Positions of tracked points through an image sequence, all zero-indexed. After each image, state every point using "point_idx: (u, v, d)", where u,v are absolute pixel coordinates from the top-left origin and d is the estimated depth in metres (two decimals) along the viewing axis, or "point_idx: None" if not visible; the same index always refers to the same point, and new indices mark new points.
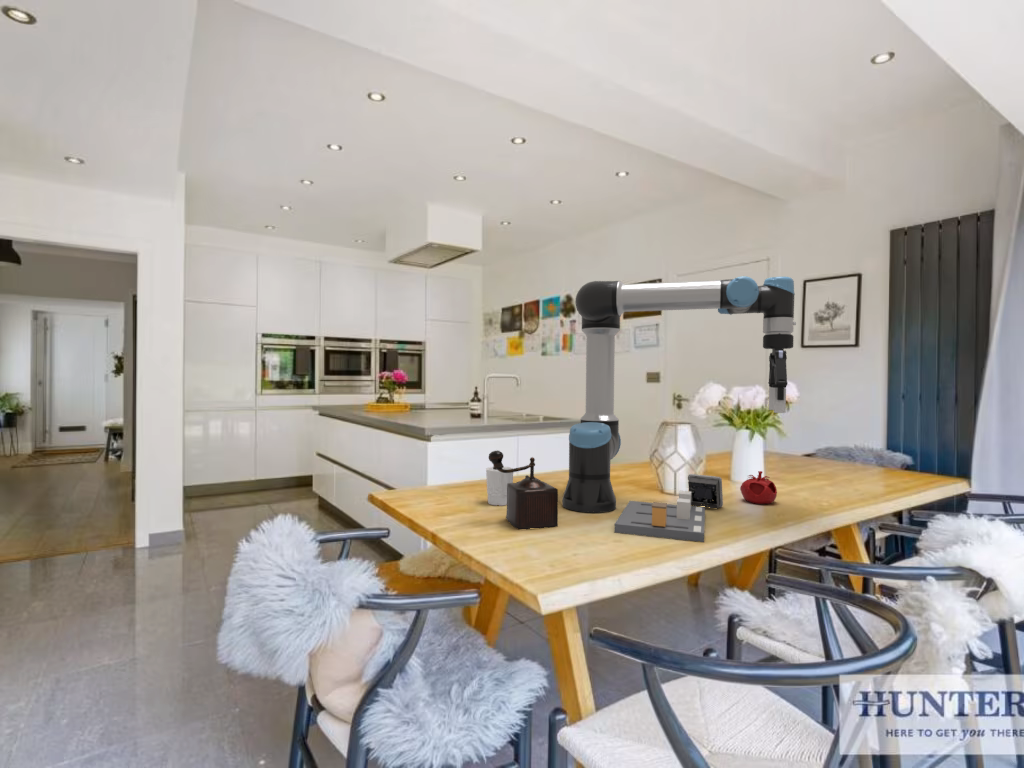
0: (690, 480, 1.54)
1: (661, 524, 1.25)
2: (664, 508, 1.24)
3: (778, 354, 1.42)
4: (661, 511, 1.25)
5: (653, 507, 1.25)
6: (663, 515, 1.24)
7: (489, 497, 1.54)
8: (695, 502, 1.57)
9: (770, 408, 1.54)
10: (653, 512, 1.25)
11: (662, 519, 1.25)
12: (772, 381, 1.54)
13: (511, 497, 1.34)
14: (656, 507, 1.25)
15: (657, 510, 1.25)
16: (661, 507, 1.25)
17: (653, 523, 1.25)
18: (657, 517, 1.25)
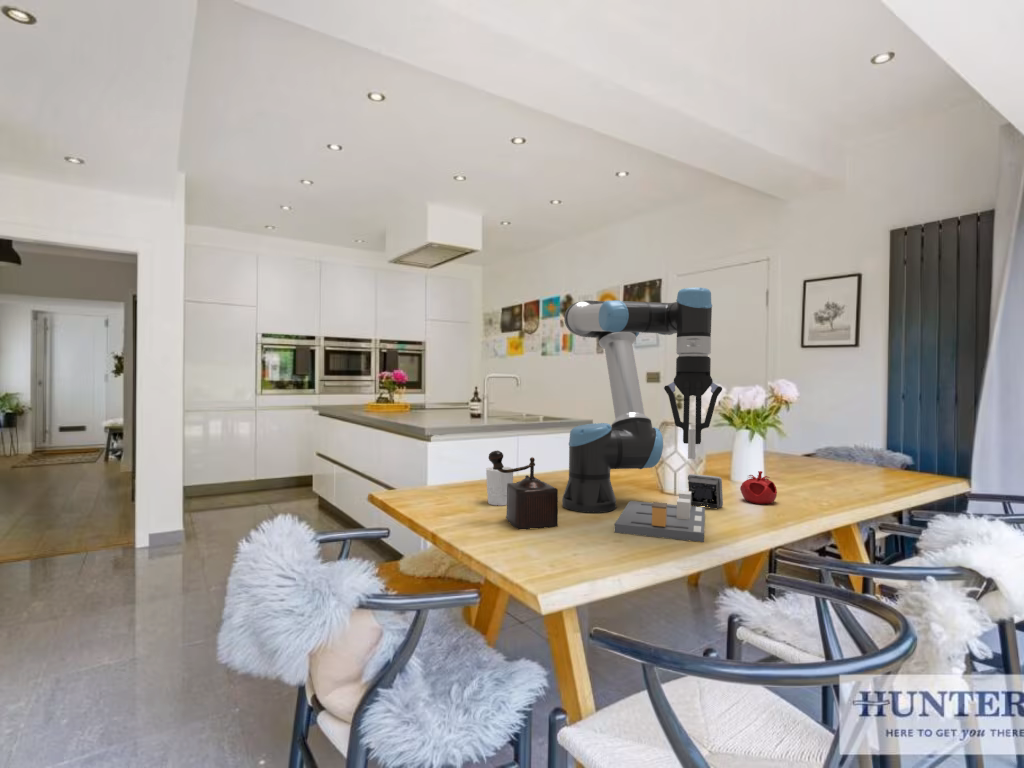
0: (690, 480, 1.54)
1: (661, 524, 1.25)
2: (664, 508, 1.24)
3: None
4: (661, 511, 1.25)
5: (653, 507, 1.25)
6: (663, 515, 1.24)
7: (489, 497, 1.54)
8: (695, 502, 1.57)
9: None
10: (653, 512, 1.25)
11: (662, 519, 1.25)
12: None
13: (511, 497, 1.34)
14: (656, 507, 1.25)
15: (657, 510, 1.25)
16: (661, 507, 1.25)
17: (653, 523, 1.25)
18: (657, 517, 1.25)
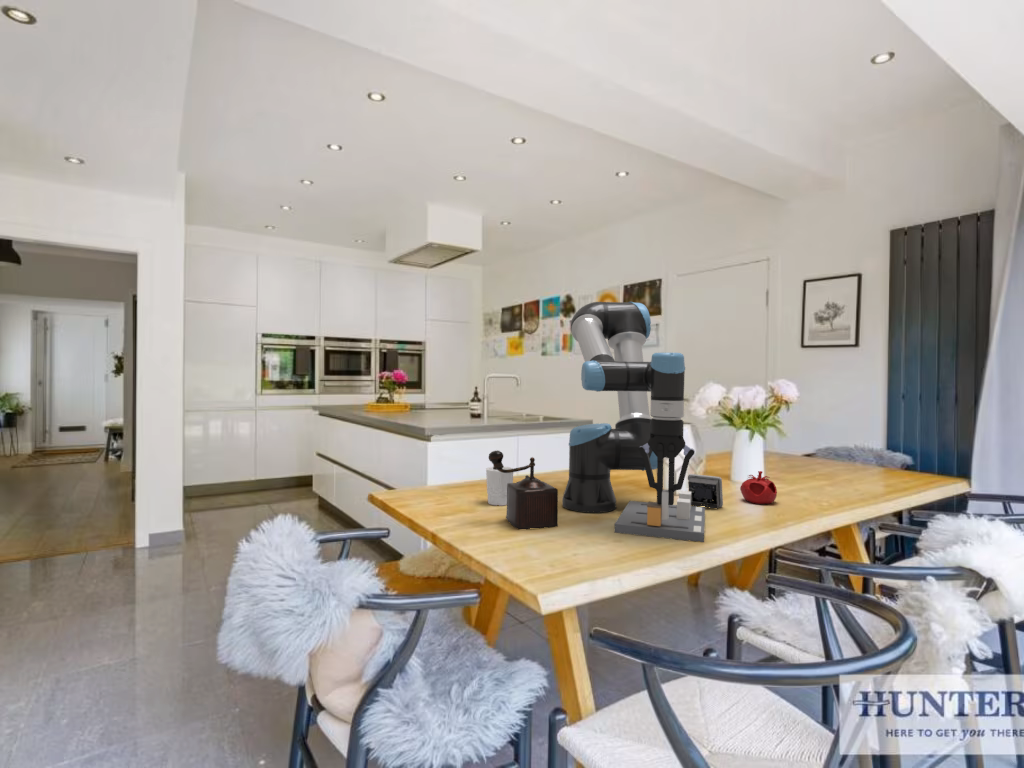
0: (690, 480, 1.54)
1: (656, 524, 1.25)
2: (659, 508, 1.25)
3: None
4: (656, 511, 1.25)
5: (648, 507, 1.25)
6: (658, 515, 1.25)
7: (489, 497, 1.54)
8: (695, 502, 1.57)
9: None
10: (648, 512, 1.26)
11: (657, 519, 1.25)
12: None
13: (511, 497, 1.34)
14: (651, 507, 1.25)
15: (653, 510, 1.25)
16: (656, 507, 1.25)
17: (648, 523, 1.26)
18: (652, 516, 1.25)
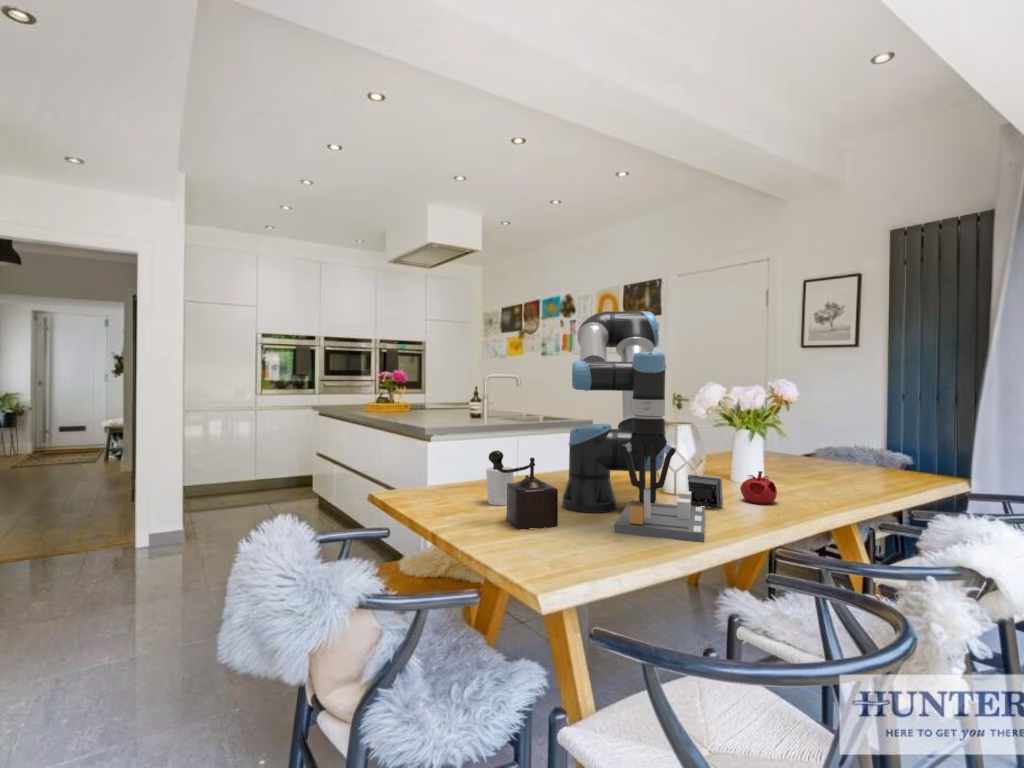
0: (690, 480, 1.54)
1: (639, 522, 1.26)
2: (642, 506, 1.26)
3: None
4: (639, 509, 1.26)
5: (631, 505, 1.27)
6: (641, 513, 1.26)
7: (489, 497, 1.54)
8: (695, 502, 1.57)
9: None
10: (631, 510, 1.27)
11: (640, 517, 1.26)
12: None
13: (511, 497, 1.34)
14: (634, 505, 1.27)
15: (635, 508, 1.27)
16: (639, 505, 1.26)
17: (631, 521, 1.27)
18: (635, 515, 1.27)
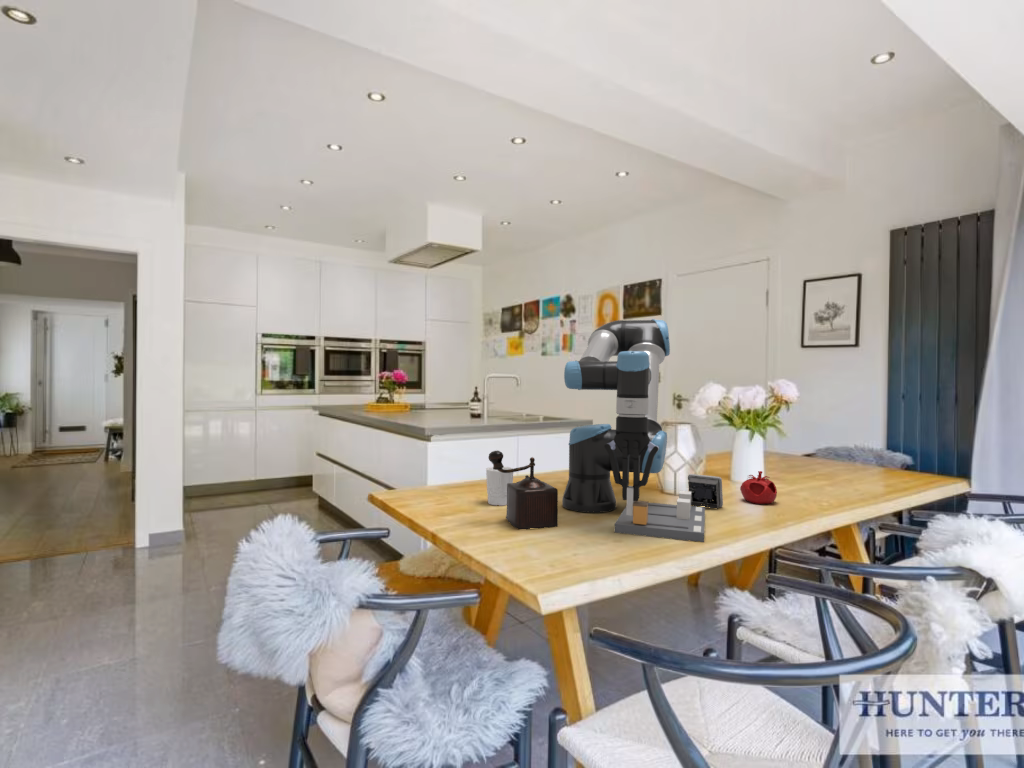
0: (690, 480, 1.54)
1: (642, 522, 1.26)
2: (645, 506, 1.26)
3: None
4: (642, 509, 1.26)
5: (634, 505, 1.27)
6: (644, 513, 1.26)
7: (489, 497, 1.54)
8: (695, 502, 1.57)
9: None
10: (634, 510, 1.27)
11: (643, 517, 1.26)
12: None
13: (511, 497, 1.34)
14: (637, 505, 1.26)
15: (638, 509, 1.26)
16: (642, 505, 1.26)
17: (634, 521, 1.27)
18: (638, 515, 1.26)
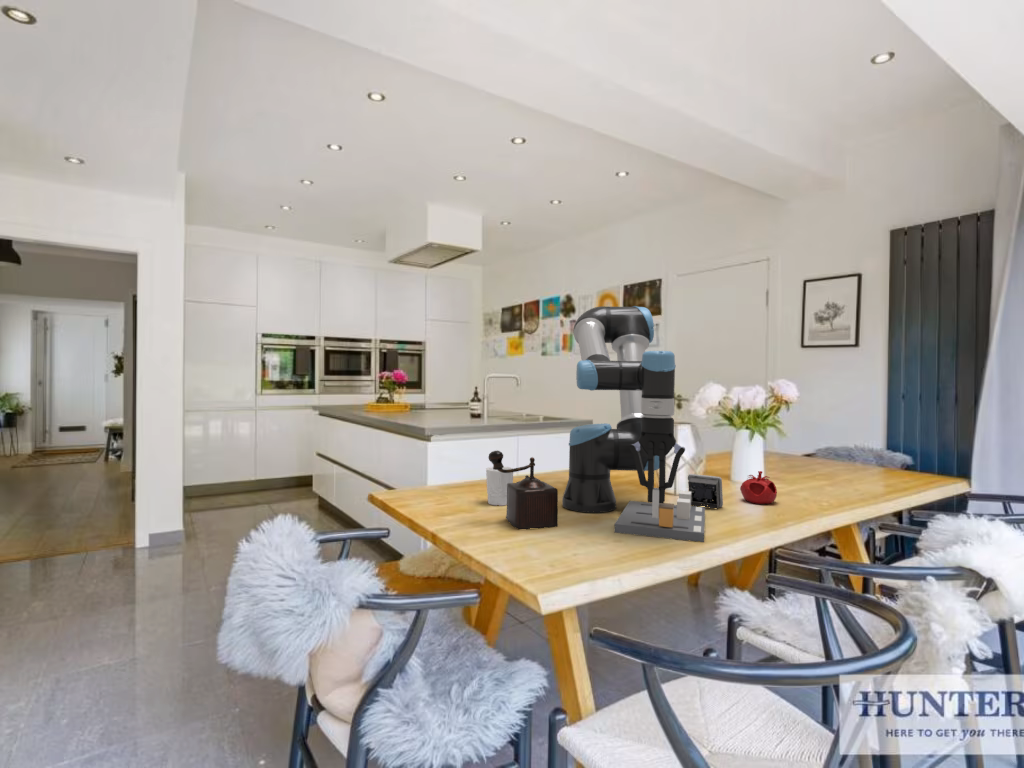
0: (690, 480, 1.54)
1: (668, 525, 1.24)
2: (671, 509, 1.24)
3: None
4: (668, 512, 1.24)
5: (660, 508, 1.25)
6: (670, 516, 1.24)
7: (489, 497, 1.54)
8: (695, 502, 1.57)
9: None
10: (660, 513, 1.25)
11: (669, 520, 1.24)
12: None
13: (511, 497, 1.34)
14: (663, 508, 1.24)
15: (664, 511, 1.24)
16: (668, 508, 1.24)
17: (660, 524, 1.25)
18: (664, 517, 1.24)
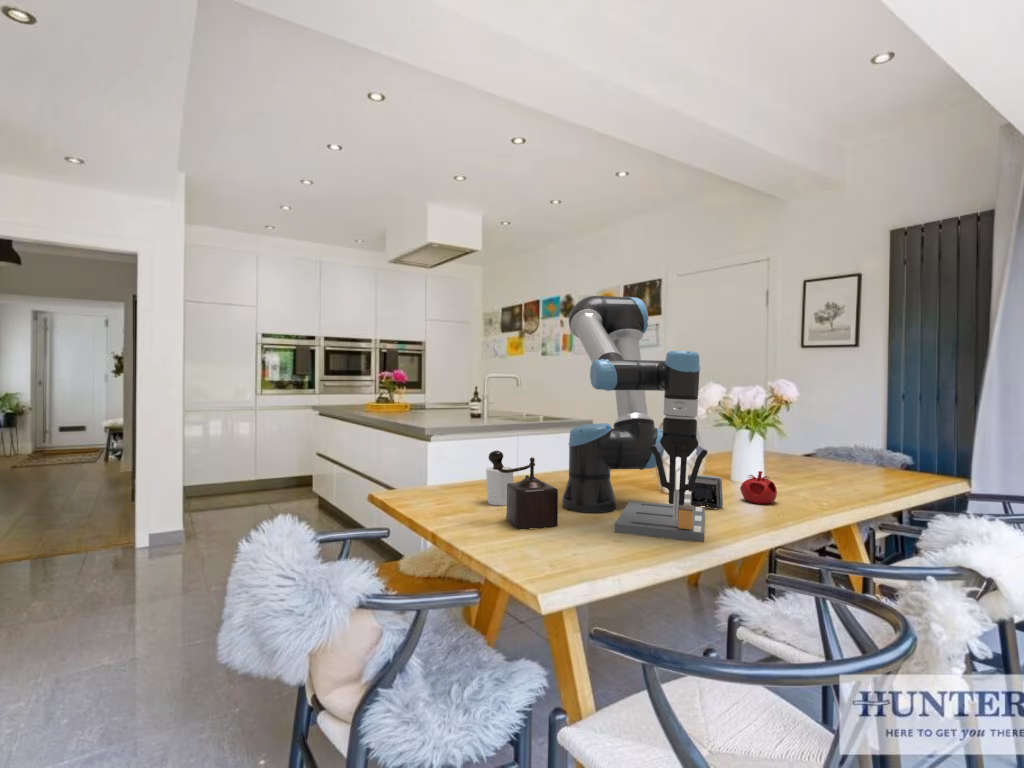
0: None
1: (688, 527, 1.23)
2: (691, 510, 1.22)
3: None
4: (688, 514, 1.23)
5: (679, 509, 1.23)
6: (690, 518, 1.22)
7: (489, 497, 1.54)
8: (695, 502, 1.57)
9: None
10: (679, 515, 1.23)
11: (689, 522, 1.22)
12: None
13: (511, 497, 1.34)
14: (683, 509, 1.23)
15: (684, 513, 1.23)
16: (688, 509, 1.23)
17: (679, 526, 1.23)
18: (684, 519, 1.23)
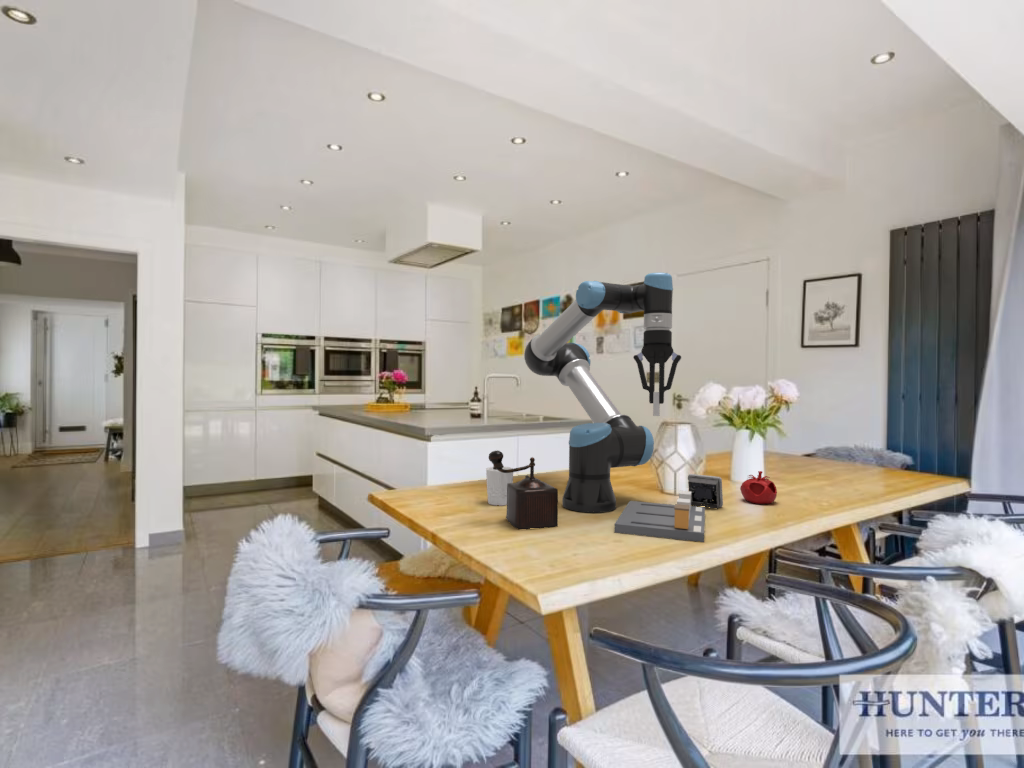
0: (690, 480, 1.54)
1: (684, 526, 1.23)
2: (687, 510, 1.23)
3: None
4: (684, 513, 1.23)
5: (676, 509, 1.23)
6: (686, 517, 1.23)
7: (489, 497, 1.54)
8: (695, 502, 1.57)
9: None
10: (676, 514, 1.23)
11: (685, 521, 1.23)
12: None
13: (511, 497, 1.34)
14: (679, 509, 1.23)
15: (680, 512, 1.23)
16: (684, 509, 1.23)
17: (676, 525, 1.23)
18: (680, 519, 1.23)
